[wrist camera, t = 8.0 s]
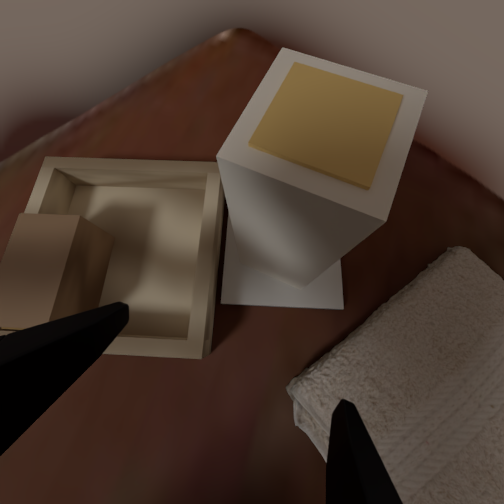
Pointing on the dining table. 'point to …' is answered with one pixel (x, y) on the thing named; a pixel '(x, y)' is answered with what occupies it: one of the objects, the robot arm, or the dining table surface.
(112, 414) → the dining table surface
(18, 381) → the robot arm
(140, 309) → the tray
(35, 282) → the walnut box
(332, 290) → the coaster
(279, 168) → the cream box
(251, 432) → the dining table surface
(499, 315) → the washcloth
